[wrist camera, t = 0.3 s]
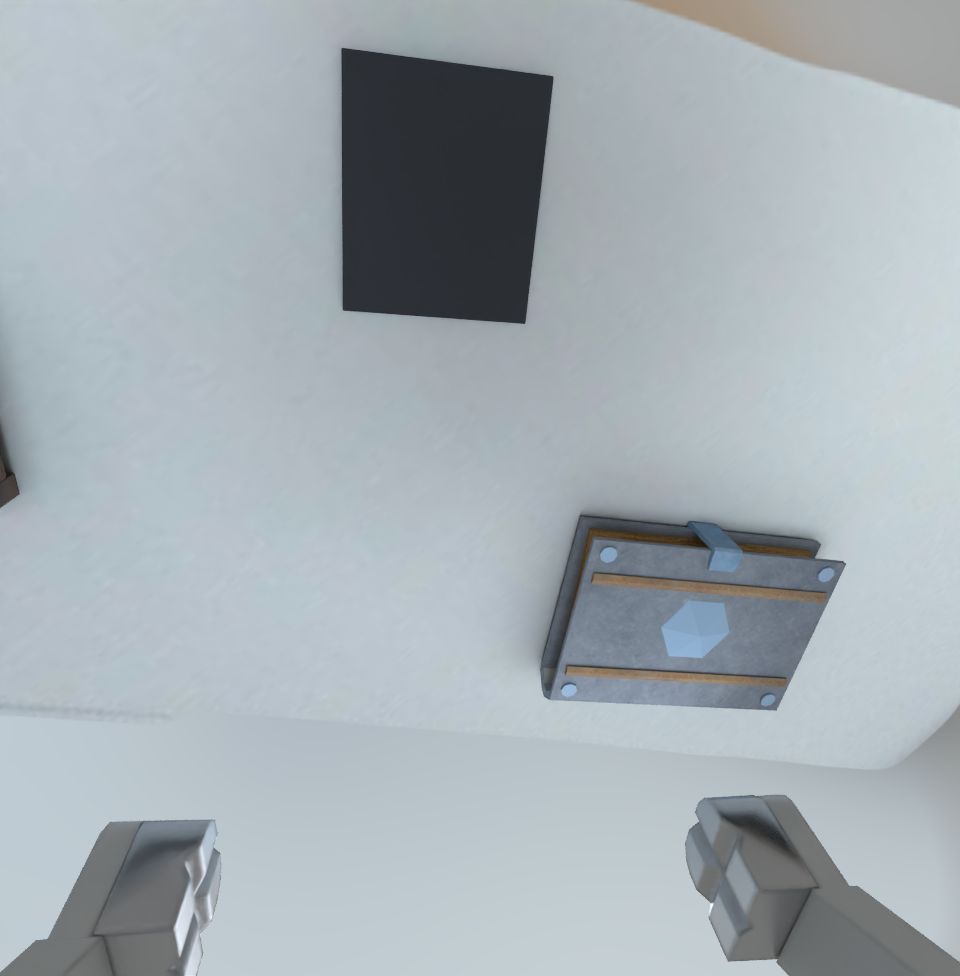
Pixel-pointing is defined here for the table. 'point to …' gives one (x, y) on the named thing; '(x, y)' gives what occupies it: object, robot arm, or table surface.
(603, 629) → the book
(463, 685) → the table surface
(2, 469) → the shelf
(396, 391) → the table surface
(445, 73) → the mat
